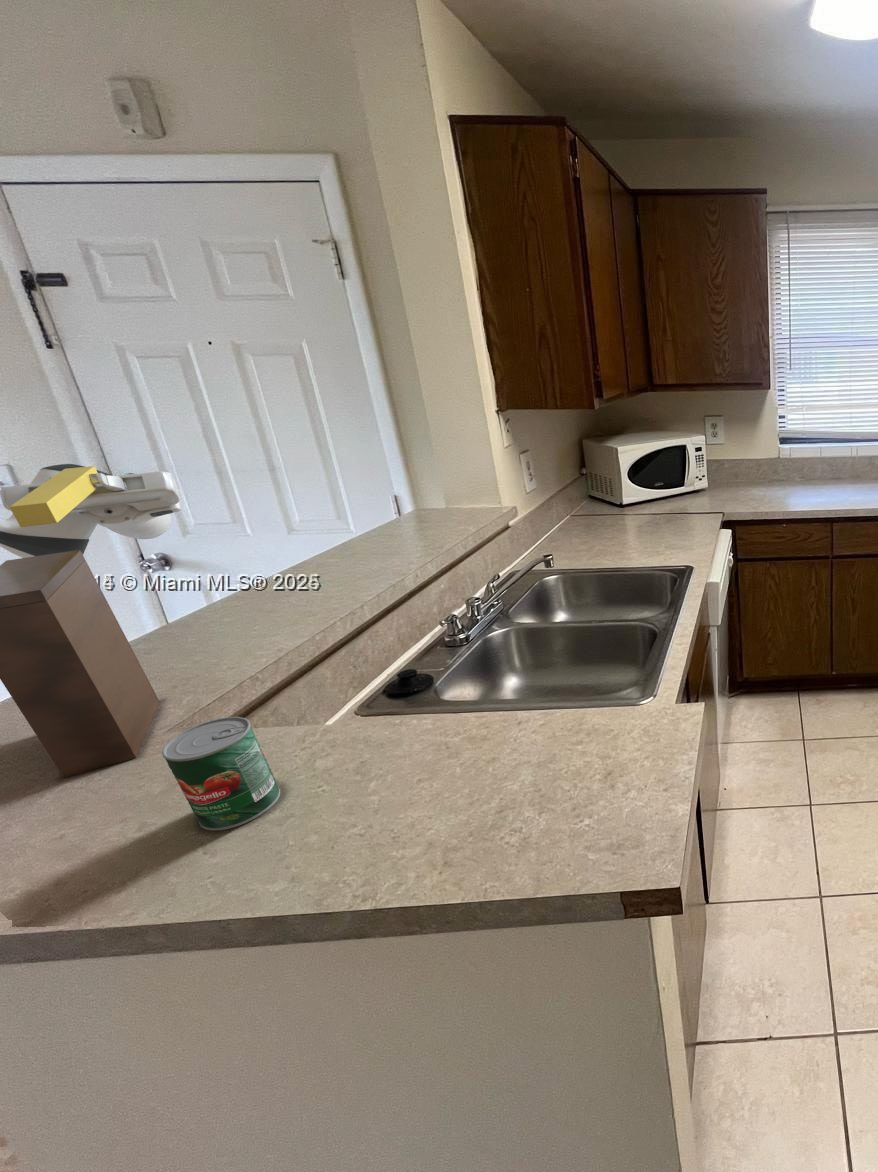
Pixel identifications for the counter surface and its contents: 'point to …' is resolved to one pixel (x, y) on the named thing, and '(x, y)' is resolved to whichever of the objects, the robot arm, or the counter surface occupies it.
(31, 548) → the robot arm
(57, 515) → the yellow bar
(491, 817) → the counter surface
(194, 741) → the canned tomato
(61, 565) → the walnut stand
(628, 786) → the counter surface
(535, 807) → the counter surface
